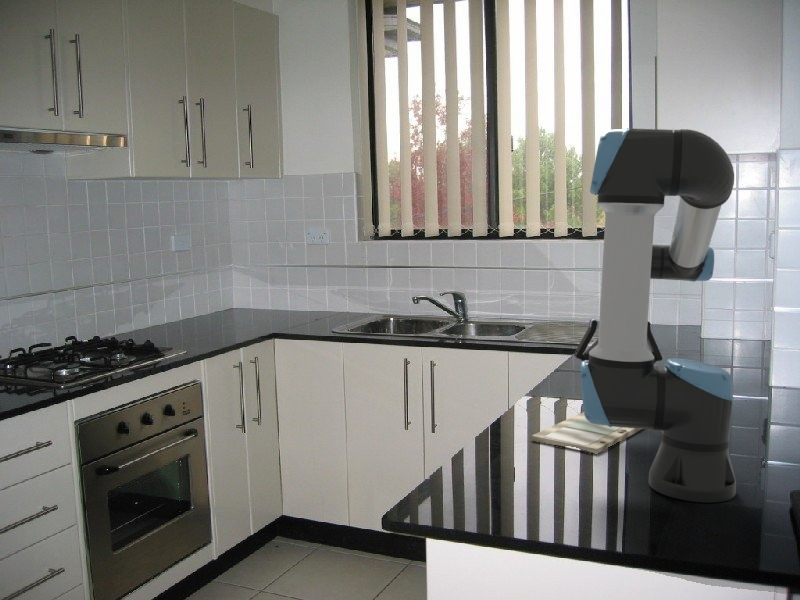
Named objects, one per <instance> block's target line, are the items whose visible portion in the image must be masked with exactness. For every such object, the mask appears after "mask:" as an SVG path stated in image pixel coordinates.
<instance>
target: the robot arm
mask: <svg viewBox="0 0 800 600" xmlns="http://www.w3.org/2000/svg"><path fill="white" fill-rule="evenodd" d="M734 170H735V169H734V166H733V163H732V161H731V159H730V157H729V155H728V154H727V152H726V151H725V149H724V148H723V147H722V146H721V145H720V144H719V143H718V142H717V141H716V140H715V139H713V138H712V137H710V136H709V135H707V134H705V133H704V132H700V131H698V130H693V129H688V128H687V129H686V128H685V129H661V128H660V129H659V128H658V129H657V128H628V127H627V128H619V129H607V130H606V131H604V132H602V134H601V136H600V137H599V142H598V146H597V151H596V155H595V160H594V166H593V171H592V176H591V177H592V178H591V184H590V188H589V192H590V193H591V194H592V195H595V196H596V195H597V205H598V207H599V208H600V209H601V210H602V211H603V212H604V214H605V217H604V235H603V252H602V253H603V254H602V269H601V270H602V271H601V284H600V285H601V289H600V304H599V305H600V306H599V320H596V319H594V318H590V320H589V322H588V323H589V324H588V328H587V330H586V332H584V333H585V334H584V335H583V337H582V339H581V341H580V343H579V344H578V346H577V348H576V349H575V351H574V353H573V356H574V357H575V358H576V359H579V360H581V362H580V381H581V382H580V384H581V385H580V386H581V395H582V396H581V399H582V407H583V408H582V409H583V412H584V415H585V418H586V419H587V421H589V422H590V423H592V424H598V425H606V426H608V427H612V426H615V427H627V428H639V429H641V430H653V431H654V430H655V431H661V436H660V438H661V439H660V440H661V441H660V445H659V448H658V450H657V453H656V454H655V457H654V459H653V462H652V464H651V467H650V468H649V472H648V486H649V487H650V488H651V489H652V490H654V491H655V492H657V493H660V494H661V495H664V496H667V497H670V498H674V499H678V500H682V501H686V502H688V501H689V502H695V503H720V502H721V503H722V502H727V501H730V500H733V498H735V496H736V492H737V479H736V477H735V473H734V469H733V464H732V462H731V457H730V455H729V454H730V453H729V447H730V445H729V444H730V433H731V420H732V419H731V418H732V406H733V401H734V398H735V397H734V379H733V377H732V375H731V373H729V372H728V371H727V370H725V369H723V368H722V367H719V366H717V365H713V364H709V363H705V362H702V361H697V360H692V359H687V358H675V357H673V358H668V359H666V362H665V364H664V366H659V365H658V366H657V365H655V363H656V362H661V361H662V360H663V356H662V354H661V351H660V349H659V347H658V345H657V342H656V340H655V337H654V335H653V333H652V330H651V329H652V328H651V327H652V326H651V322H650V321H648V320H649V309H650V308H649V306H650V305H649V304H650V290H651V288H650V287H651V280H670V281H687V282H693V283H694V282H709V281H710V280H711V279H712V277H713V275H714V268H715V250H714V249H713V248H712V247H710V243H711V241H712V237H713V235H714V232H715V231H714V230H715V228H716V225H717V221H718V218H719V214H720V212H721V208H722V206H723V205H724V204H725V203H726V202H728V200H729V198H731V195H732V192H733V188H734V185H735V171H734ZM672 196H673V197H679V202H678V206H677V207H678V208H677V212H676V217H675V222H674V226H673V232H672V234H671V235H672V237H671V241H670V245H669V244H653V242H654V230H655V229H654V225H655V216H656V214H657V213H658V212H659V211H660V210H662V209H663V208H664V207H665V197H672ZM597 330H598V338H597V339H596V341H595V340H594V341H595V342H594V341H593V342H594V343H593V342H592V343H593V344H592V345H591V347H590V348H589V349H588V350H587V351H586V348H587V346H588V344H589V343H590V342H591V340H592V338H593V337H594V335H595V333H596V331H597ZM647 344H648V346H647ZM648 347H649V348H648ZM649 349H650V350H649Z"/></svg>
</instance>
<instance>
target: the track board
mask: <svg viewBox="0 0 800 600" xmlns="http://www.w3.org/2000/svg"><path fill="white" fill-rule="evenodd" d="M641 430H642V429H639V428H627V427H615V426H612V427H608V426H606V425H598V424H592V423H590V422H589V421H587V419H586V418H585V415H584V411H582V412H580V413H579V414H576V415H574V416H572V417H569V418H567V419H566V420H563V421H561V422H558V423H556V424H555V425H552V426H550V427H547V428H545V429H543V430H541V431H539V432H537V433H535V434H532V435H531V442H534V441H535V442H536V443H539V442H540V443H541V444H544V443H546V444H545V445H548V444H553V445H561V446H571V447H576V448H579V449H583V450H587V451H589V452H593V453H596V454H597V455H599V454H600V453H599V452H601V453H603V452H604V451H606V450H607V448H608V447H610V446H612V445H613V446H615V445H617V444H618V443H617V442H619V441H620V442H622V441H624V440H626V439H628V438H629V437H631V436H632V435H634V434H637V433H638V432H639V431H641ZM620 442H619V443H620ZM540 443H539V444H540ZM616 443H617V444H616ZM614 444H615V445H614ZM553 445H552V446H553ZM613 446H612V447H613ZM610 448H611V447H610ZM605 449H606V450H605ZM608 449H609V448H608ZM603 450H604V451H603ZM602 451H603V452H602ZM598 453H599V454H598Z"/></svg>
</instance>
